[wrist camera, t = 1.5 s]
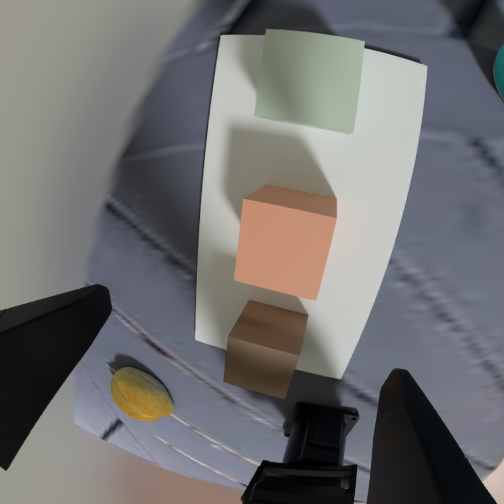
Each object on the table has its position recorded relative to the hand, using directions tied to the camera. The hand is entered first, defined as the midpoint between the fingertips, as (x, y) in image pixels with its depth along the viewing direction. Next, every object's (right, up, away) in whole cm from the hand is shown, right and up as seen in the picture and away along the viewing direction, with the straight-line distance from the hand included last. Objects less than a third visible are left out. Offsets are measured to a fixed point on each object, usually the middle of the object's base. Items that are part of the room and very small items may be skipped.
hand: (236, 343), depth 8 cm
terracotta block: (+3, +4, +10) cm, 12 cm away
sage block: (+4, +12, +7) cm, 14 cm away
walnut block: (+2, -3, +14) cm, 15 cm away
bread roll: (-13, -15, +25) cm, 32 cm away
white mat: (+3, +4, +11) cm, 12 cm away
